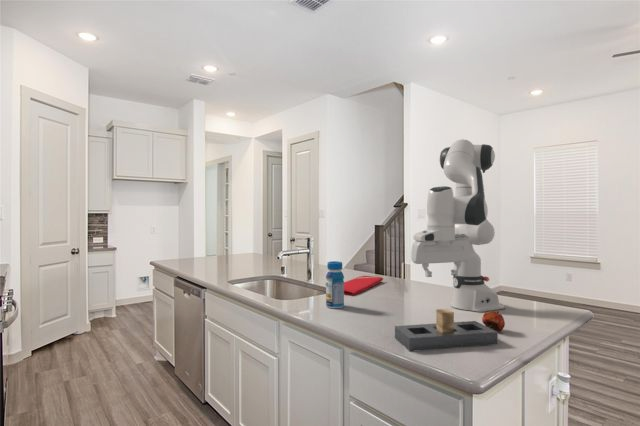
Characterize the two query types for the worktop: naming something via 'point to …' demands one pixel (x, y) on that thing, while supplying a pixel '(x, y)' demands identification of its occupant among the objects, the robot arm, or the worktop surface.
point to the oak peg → (444, 320)
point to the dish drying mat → (360, 284)
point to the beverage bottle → (334, 285)
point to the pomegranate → (493, 320)
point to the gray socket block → (445, 336)
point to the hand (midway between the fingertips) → (441, 276)
